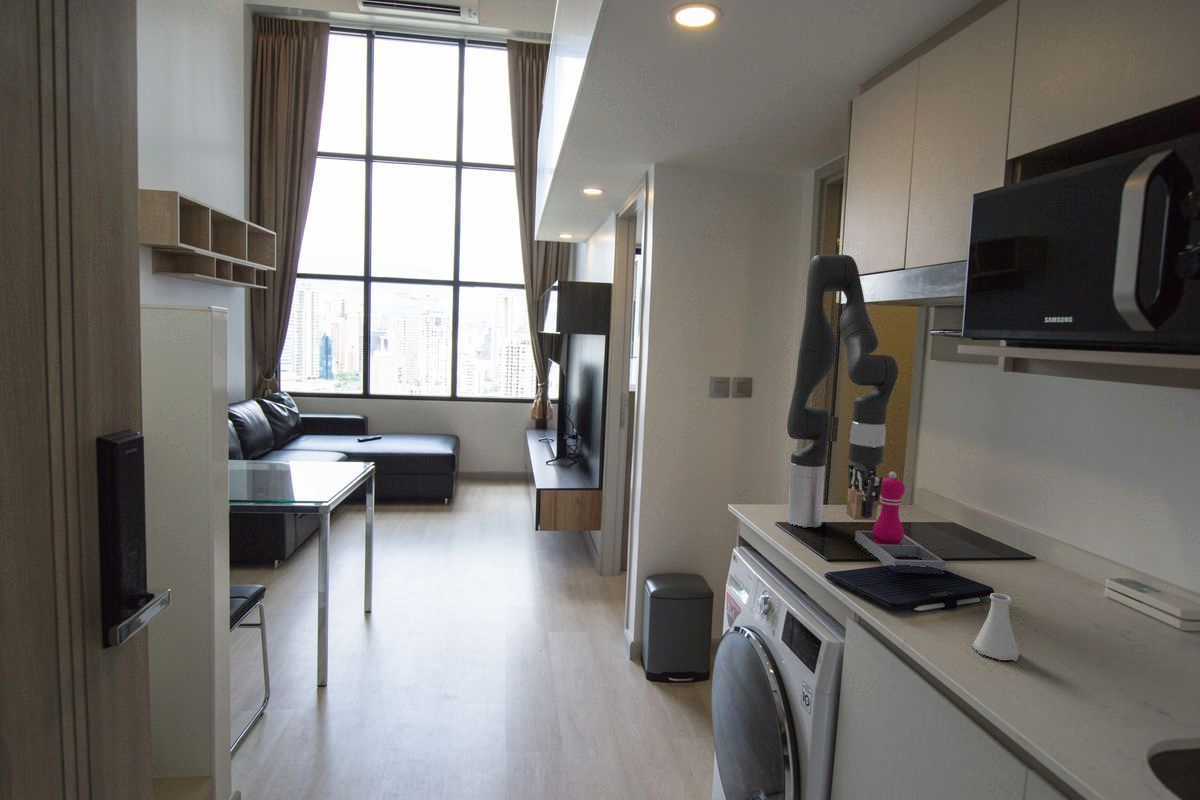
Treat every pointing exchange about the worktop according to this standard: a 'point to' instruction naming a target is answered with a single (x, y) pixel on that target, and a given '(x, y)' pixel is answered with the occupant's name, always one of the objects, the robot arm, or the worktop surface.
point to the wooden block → (858, 505)
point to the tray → (899, 551)
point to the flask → (997, 631)
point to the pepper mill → (889, 512)
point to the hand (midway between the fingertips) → (861, 513)
